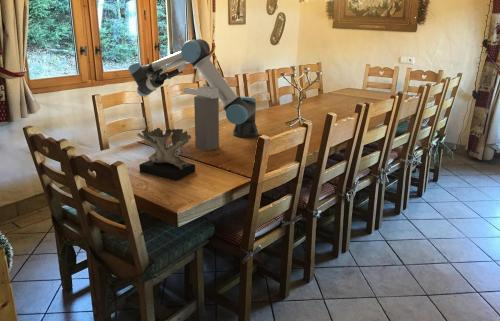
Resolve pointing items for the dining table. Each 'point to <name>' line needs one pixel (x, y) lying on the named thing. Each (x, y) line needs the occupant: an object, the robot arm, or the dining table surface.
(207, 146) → the stand
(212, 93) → the jaw bar
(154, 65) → the robot arm
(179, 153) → the coral branch
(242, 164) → the dining table surface
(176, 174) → the coral
